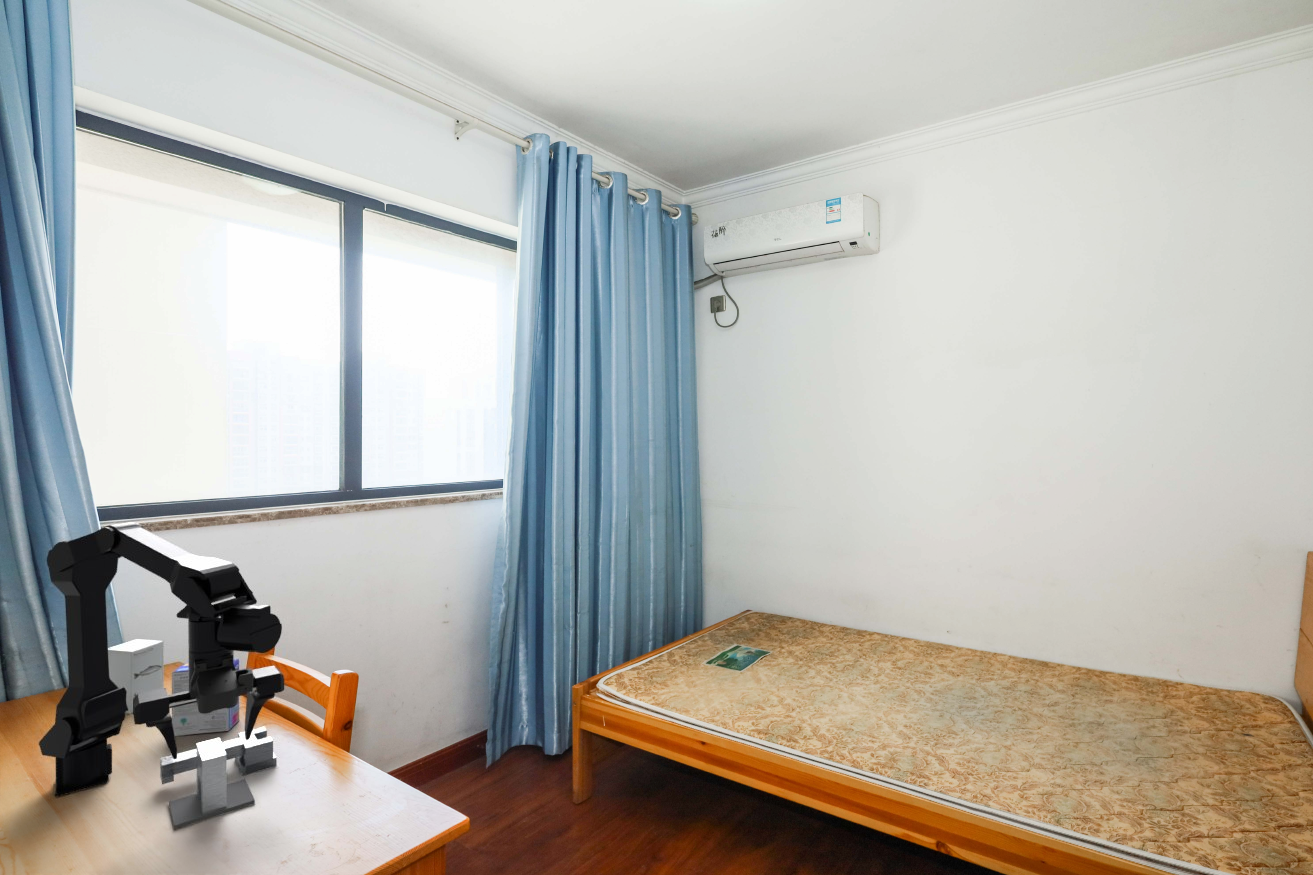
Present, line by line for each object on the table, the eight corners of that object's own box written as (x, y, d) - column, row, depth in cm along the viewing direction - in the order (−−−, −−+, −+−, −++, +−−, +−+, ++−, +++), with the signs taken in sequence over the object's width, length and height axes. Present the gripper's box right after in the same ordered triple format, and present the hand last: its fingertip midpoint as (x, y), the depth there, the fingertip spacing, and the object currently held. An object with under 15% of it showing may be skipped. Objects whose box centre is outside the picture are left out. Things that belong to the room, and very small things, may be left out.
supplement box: (130, 714, 132) (130, 651, 131) (100, 711, 133) (100, 649, 133) (165, 699, 139) (164, 640, 139) (136, 696, 140) (136, 637, 140)
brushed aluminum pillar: (202, 814, 97) (202, 760, 97) (196, 794, 102) (196, 743, 102) (226, 806, 99) (226, 754, 99) (219, 787, 104) (219, 737, 104)
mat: (174, 829, 94) (174, 825, 94) (168, 805, 100) (168, 801, 100) (254, 803, 101) (254, 799, 101) (245, 782, 107) (245, 778, 107)
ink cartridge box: (241, 719, 130) (240, 646, 130) (230, 731, 125) (230, 655, 124) (183, 724, 127) (183, 650, 127) (170, 737, 122) (169, 660, 122)
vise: (163, 799, 102) (163, 770, 102) (159, 780, 107) (159, 753, 107) (276, 765, 112) (276, 739, 112) (267, 750, 117) (267, 725, 117)
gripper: (136, 677, 88) (137, 792, 88) (292, 647, 100) (292, 748, 101) (132, 655, 96) (133, 760, 97) (276, 629, 109) (276, 723, 109)
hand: (212, 748), depth 100 cm, fingers open, 9 cm apart
